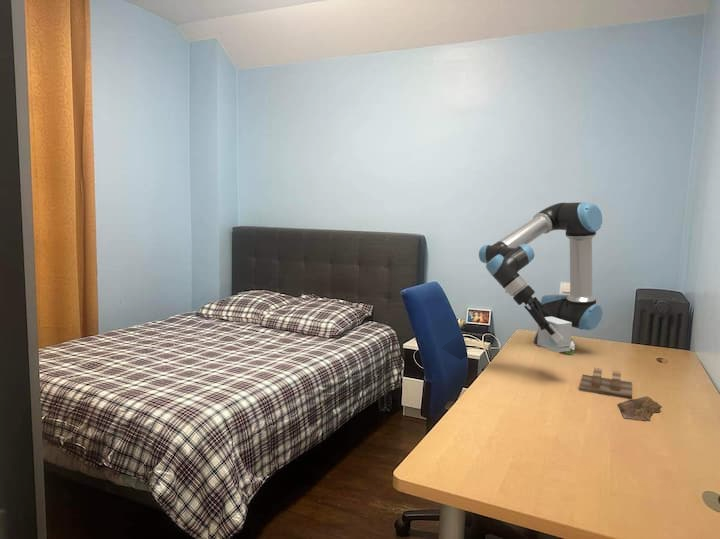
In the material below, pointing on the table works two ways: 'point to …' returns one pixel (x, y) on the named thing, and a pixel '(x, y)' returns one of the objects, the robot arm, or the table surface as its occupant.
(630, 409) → the wooden fragment
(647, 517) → the table surface
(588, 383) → the ridge board
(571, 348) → the geometric puzzle
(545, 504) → the table surface
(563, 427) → the table surface
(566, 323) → the skincare box
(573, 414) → the table surface
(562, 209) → the robot arm
